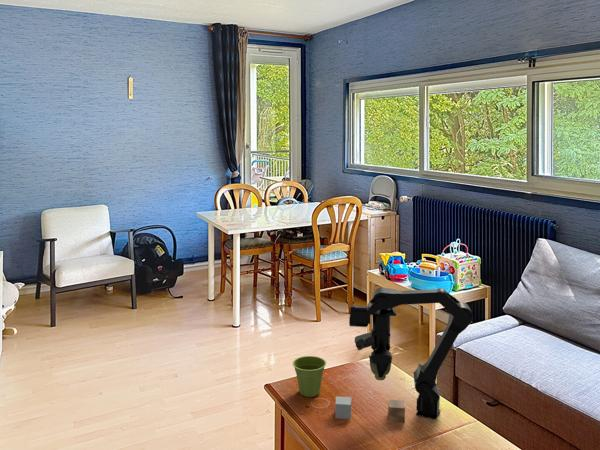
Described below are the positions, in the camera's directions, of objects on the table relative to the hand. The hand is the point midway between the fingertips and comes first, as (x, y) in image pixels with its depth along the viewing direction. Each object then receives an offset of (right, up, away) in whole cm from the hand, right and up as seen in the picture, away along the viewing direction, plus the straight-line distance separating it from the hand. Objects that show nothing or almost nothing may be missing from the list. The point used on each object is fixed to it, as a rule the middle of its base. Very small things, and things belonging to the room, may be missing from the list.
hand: (380, 372), depth 173 cm
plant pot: (-23, -11, +14) cm, 29 cm away
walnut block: (+5, -14, -3) cm, 15 cm away
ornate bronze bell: (0, -2, 0) cm, 2 cm away
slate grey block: (-12, -13, -1) cm, 18 cm away
